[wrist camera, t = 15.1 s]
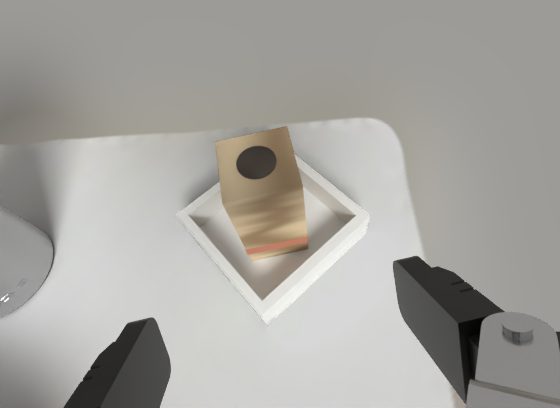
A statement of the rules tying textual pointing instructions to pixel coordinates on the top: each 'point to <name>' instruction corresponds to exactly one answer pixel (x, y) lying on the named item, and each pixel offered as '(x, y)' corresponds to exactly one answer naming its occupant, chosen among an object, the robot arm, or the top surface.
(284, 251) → the oak block
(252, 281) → the white tray
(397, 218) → the top surface
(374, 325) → the top surface
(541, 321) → the robot arm
